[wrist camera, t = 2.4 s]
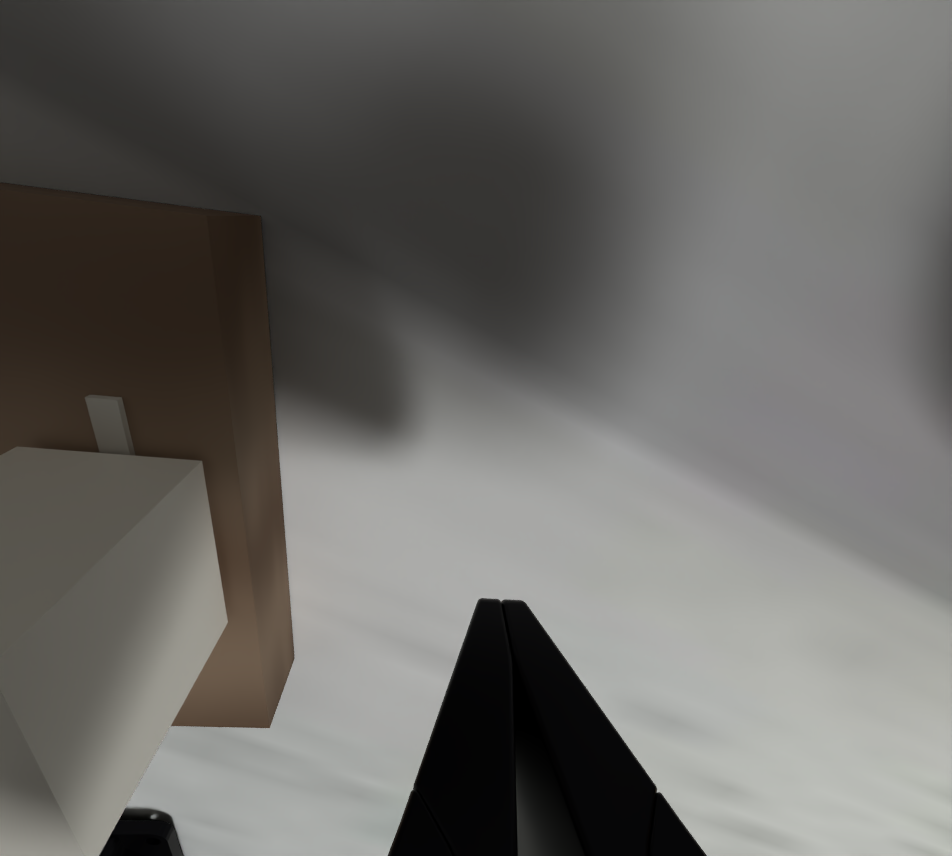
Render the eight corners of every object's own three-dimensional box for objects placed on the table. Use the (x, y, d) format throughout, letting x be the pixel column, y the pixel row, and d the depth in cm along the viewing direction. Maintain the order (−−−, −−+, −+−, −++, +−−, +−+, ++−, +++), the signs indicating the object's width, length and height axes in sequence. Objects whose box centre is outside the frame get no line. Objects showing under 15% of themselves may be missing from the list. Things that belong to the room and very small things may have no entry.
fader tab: (228, 624, 10) (86, 881, 6) (78, 617, 9) (-170, 883, 6) (202, 458, 8) (-23, 674, 4) (16, 443, 8) (-404, 662, 4)
